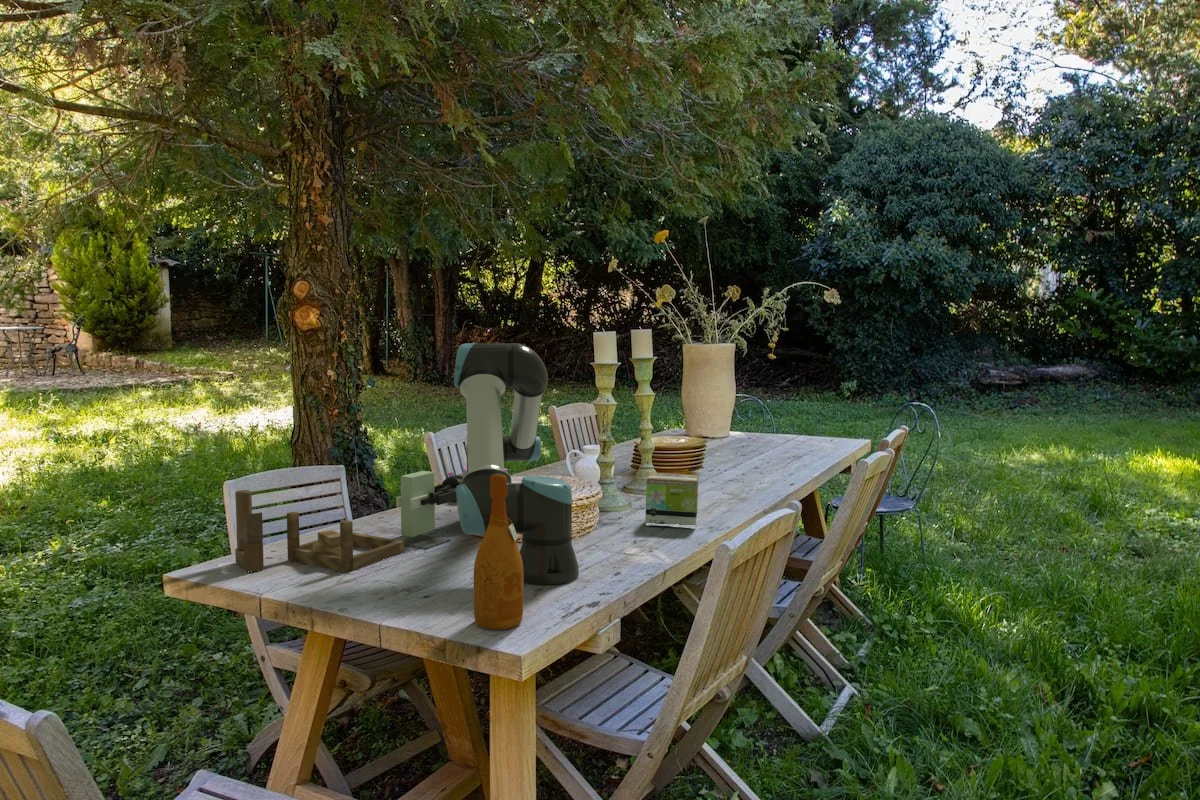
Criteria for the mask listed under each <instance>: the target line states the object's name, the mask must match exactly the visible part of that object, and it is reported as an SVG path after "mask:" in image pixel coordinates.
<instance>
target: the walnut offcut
mask: <svg viewBox="0 0 1200 800" xmlns="http://www.w3.org/2000/svg"><path fill="white" fill-rule="evenodd" d="M317 540H318V543H320V544H322V545H324V546H326V547H328V548H335V547H340V532H336V531H334V530H332V529H329V530H324V531H318V532H317Z"/></svg>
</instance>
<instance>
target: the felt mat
mask: <svg viewBox="0 0 1200 800" xmlns="http://www.w3.org/2000/svg"><path fill="white" fill-rule="evenodd" d="M392 539H393V540H399V541H404V545H405V546H404V547H409V546H412V547H411V548H415V547H418V548H417V549H420V548H424V549H423V550H429V549H431V548H430V547H432V548H434V547H433V546H435V547H437V545H438V546H440V545H443V544H445V542H446V543H448V541H449V542H451V538H450V539H449V538H445V537H437V536H433V535H426V534H420V535H417V536H414V537H410V536H405V535H400V536H397V537H393V538H392ZM442 543H443V544H442ZM439 544H440V545H439ZM428 548H429V549H428Z"/></svg>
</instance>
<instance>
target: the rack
mask: <svg viewBox="0 0 1200 800" xmlns="http://www.w3.org/2000/svg"><path fill="white" fill-rule="evenodd" d="M353 529H354V527H353V520H343V521H340V522H339V534H340V549H341V556H336V555H331V554H326V553H321V552H316V551H313V544H315V543H317V542H318V539H315V540H312V541H310V542H307V543H303V544H300V543H301V542H300V540H301V539H300V513H299V512H297V511H289V512H287V513H286V531H287V532H286V533H287V534H286V535H287V539H286V540H287V542H286V543H287V544H286V545H287V561H288V560H290V561H289V562H292V561H296V562H295V563H299V562H302V563H301V564H303V563H306V564H305V565H308V564H311V565H310V566H313V565H316V566H315V567H318V566H320V567H319V568H323V567H324V568H323V569H328V568H329V569H328V570H332V569H334V571H337V570H338V572H340V573H345V572H346V573H345V574H348V573H351V572H353V571H357V570H359V569H361V568H365V567H368V566H371V565H373V564H372V563H374V564H376V563H379V562H382V561H384V560H383V559H385V560H387V559H386V558H388V559H390V558H389V557H391V558H393V557H396V556H399V555H401V553H402V554H405V546H404V541H399V540H393V538H388V537H387V538H386V537H381V536H374V535H370V534H369V535H368V534H364V533H358V532H354V531H353ZM358 546H359V547H358ZM354 547H358V548H363V547H365V549H368V550H367V551H364V552H360V553H357V554H355V555H354ZM369 548H371V549H369ZM398 554H399V555H398ZM395 555H396V556H395ZM392 556H393V557H392ZM381 560H382V561H381ZM378 561H379V562H378ZM375 562H376V563H375ZM370 564H371V565H370ZM367 565H368V566H367ZM356 569H357V570H356Z"/></svg>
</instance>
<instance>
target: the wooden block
mask: <svg viewBox="0 0 1200 800" xmlns="http://www.w3.org/2000/svg"><path fill="white" fill-rule="evenodd" d="M234 495H235V521H236V527H235V528H236V544H237V545H236V548H235V550H234V552H235V553H234V554H235V557H234V558H235V563H236V564H238V566H240V567H241V568H242V567H243V568H242V569H244V570H245V571H246V570H247V571H249V572H251V571H257V572H259V571H258V570H262V571H264V570H263V569H264V568H265V567H264V532H263V531H264V530H263V512H256V513H255V512H254V513H253V503H252V502H253V500H252V499H253V498H252V491H251V490H249V489H242V490H237V491H235V494H234ZM247 571H246V572H247ZM251 573H252V572H251Z"/></svg>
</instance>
